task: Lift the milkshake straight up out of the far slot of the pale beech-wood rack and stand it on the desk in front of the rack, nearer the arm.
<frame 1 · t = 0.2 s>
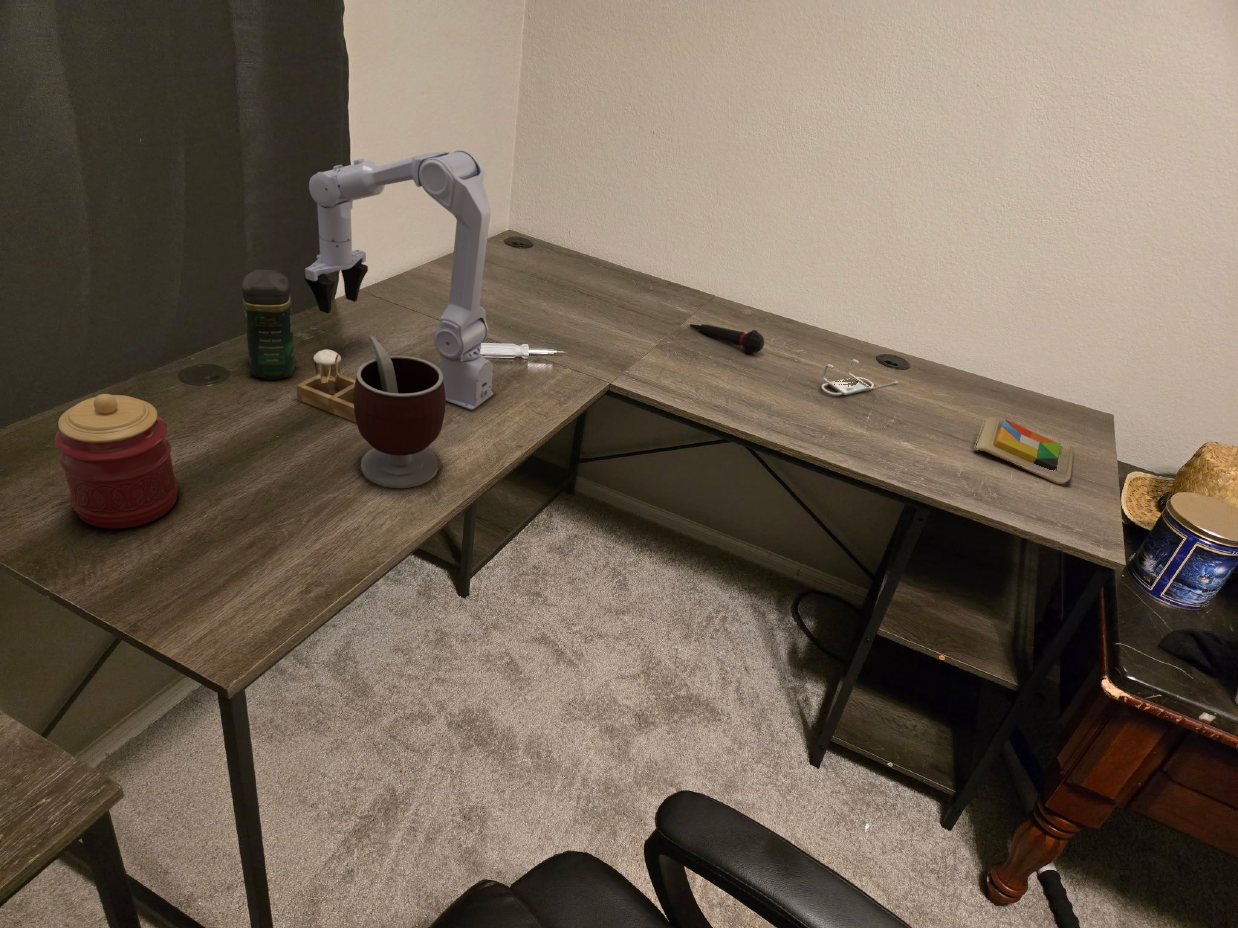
hand: (338, 305, 154), 10 cm above the table, tool pointing down, fingers open, 7 cm apart
rack: (346, 404, 144), on the table
milkshake: (330, 399, 145), on the table
mate gourd: (397, 464, 131), on the table
microphone: (726, 342, 195), on the table
wall mount rack: (854, 394, 181), on the table
kitchen canister: (128, 503, 114), on the table
coffee jar: (273, 370, 150), on the table
wooden puzzle: (1021, 454, 170), on the table
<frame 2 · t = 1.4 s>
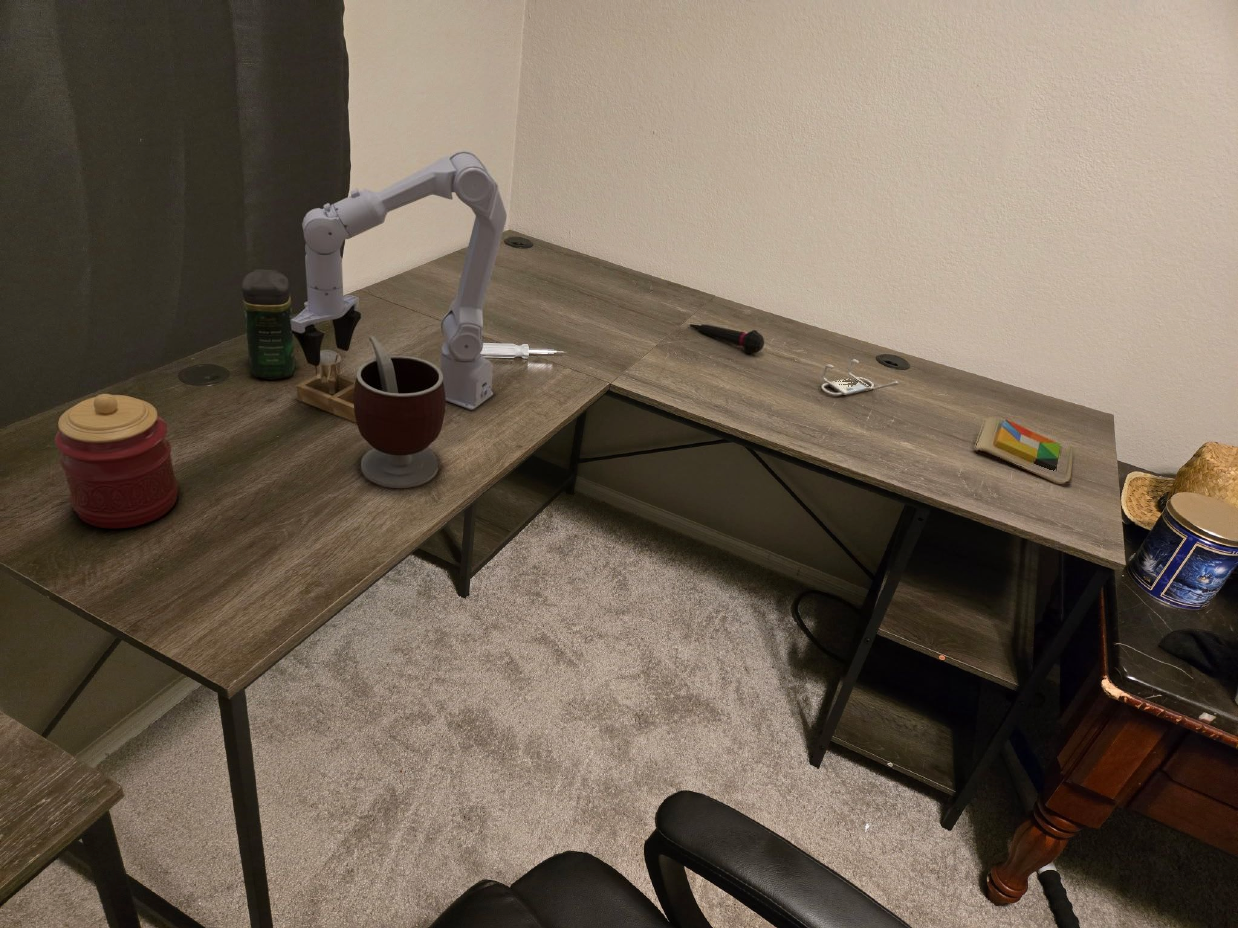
hand: (328, 356, 140), 8 cm above the table, tool pointing down, fingers open, 7 cm apart
nothing on the table moved.
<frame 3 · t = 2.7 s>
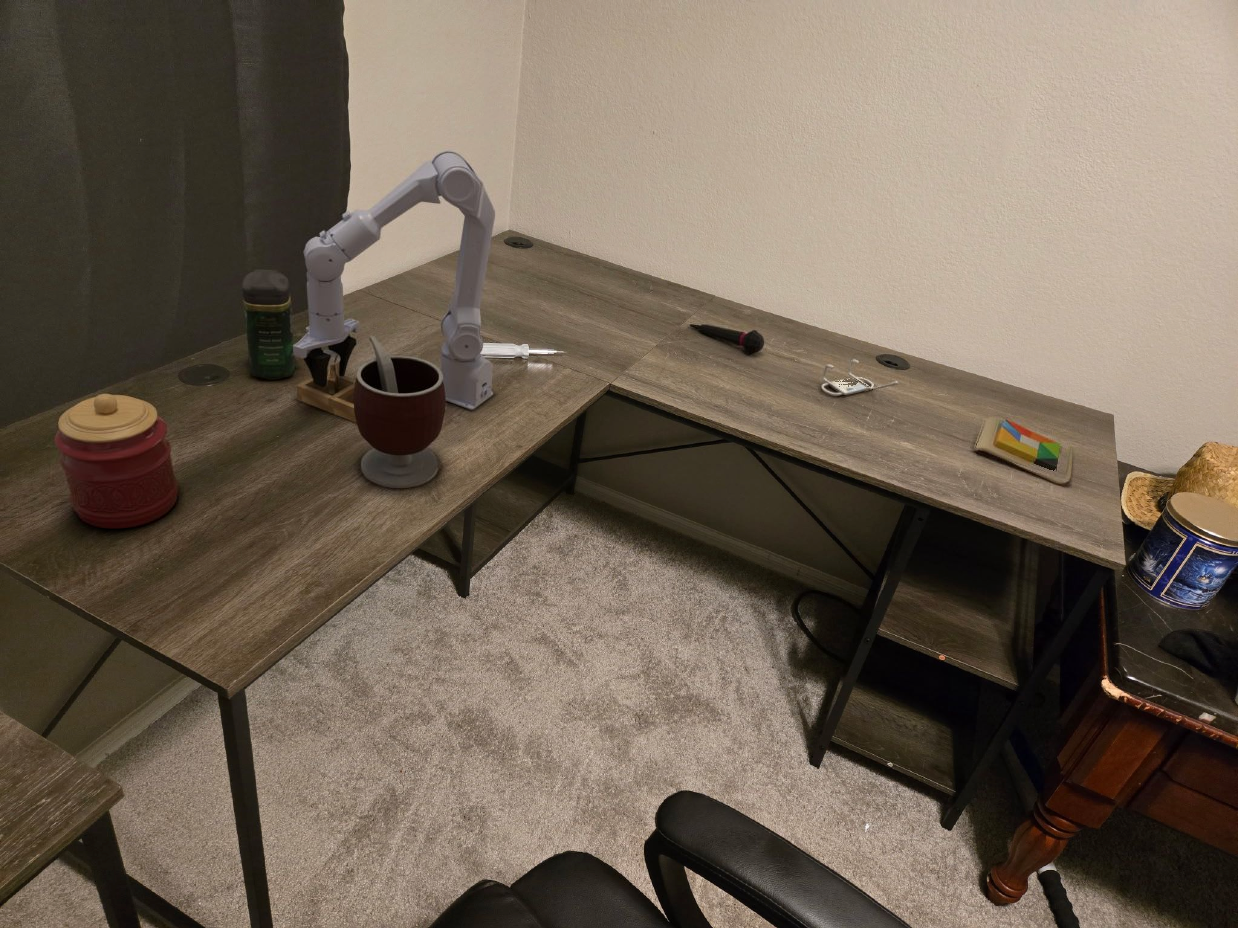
hand: (329, 379, 143), 4 cm above the table, tool pointing down, fingers closed on milkshake, 4 cm apart
milkshake: (330, 399, 145), on the table, touching gripper
everything else where it was.
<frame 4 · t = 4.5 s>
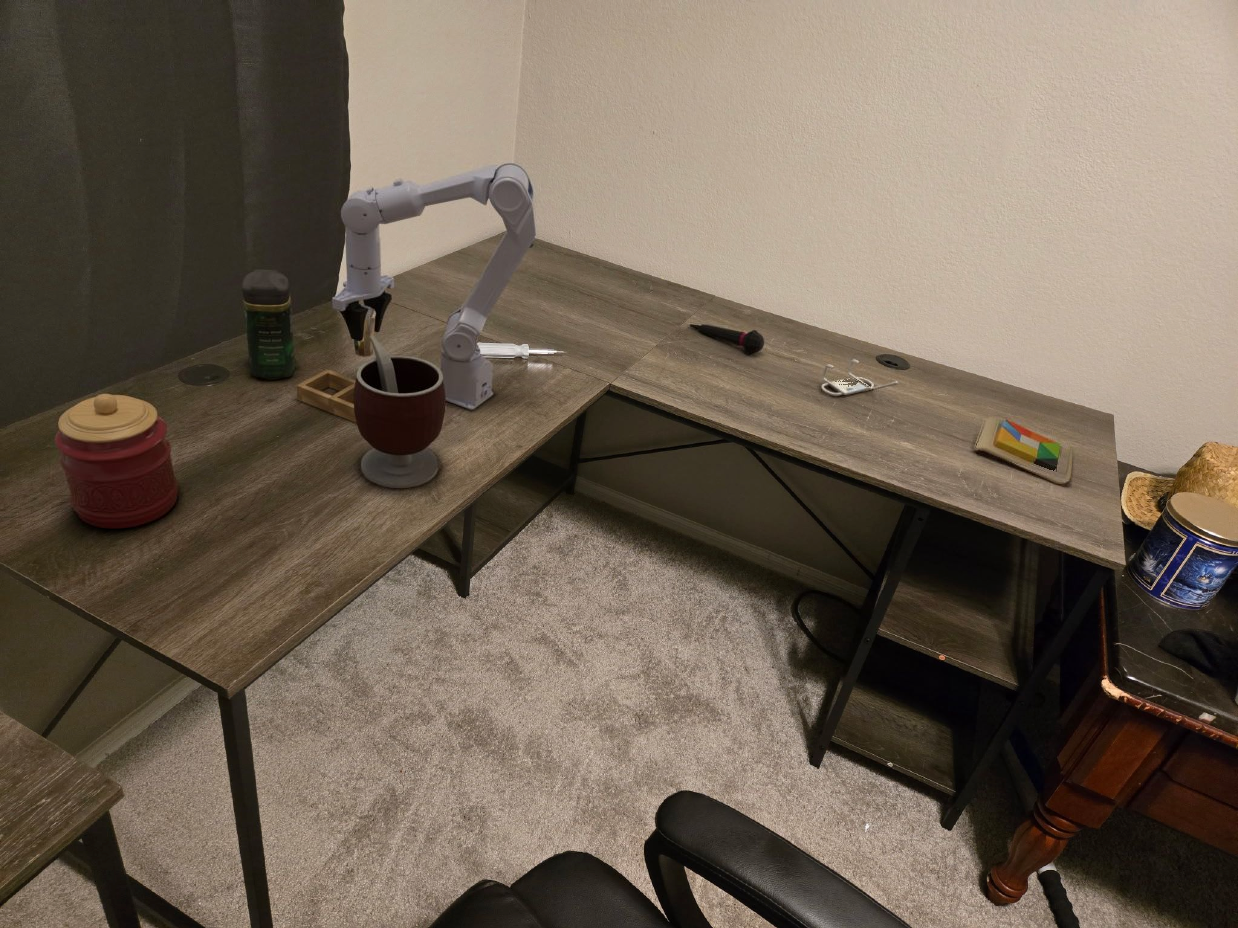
hand: (365, 334, 145), 10 cm above the table, tool pointing down, fingers closed on milkshake, 4 cm apart
milkshake: (365, 354, 148), point 6 cm above the table, touching gripper
everything else where it was.
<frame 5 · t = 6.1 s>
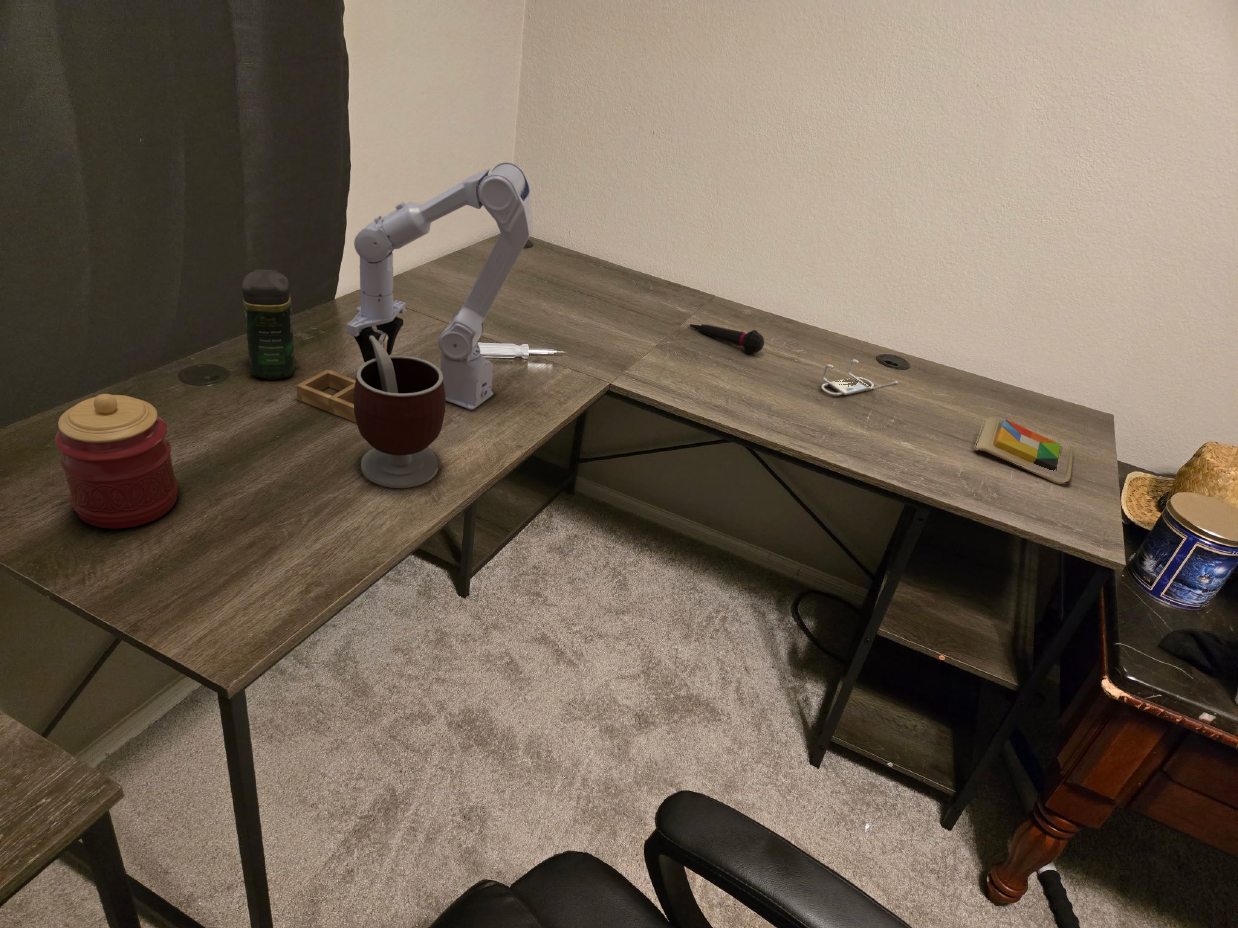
hand: (377, 357, 151), 5 cm above the table, tool pointing down, fingers closed on milkshake, 4 cm apart
milkshake: (377, 376, 153), point 1 cm above the table, touching gripper
everything else where it was.
when the fingers open (4 cm above the table, at t = 6.8 s): milkshake stays where it is, on the table.
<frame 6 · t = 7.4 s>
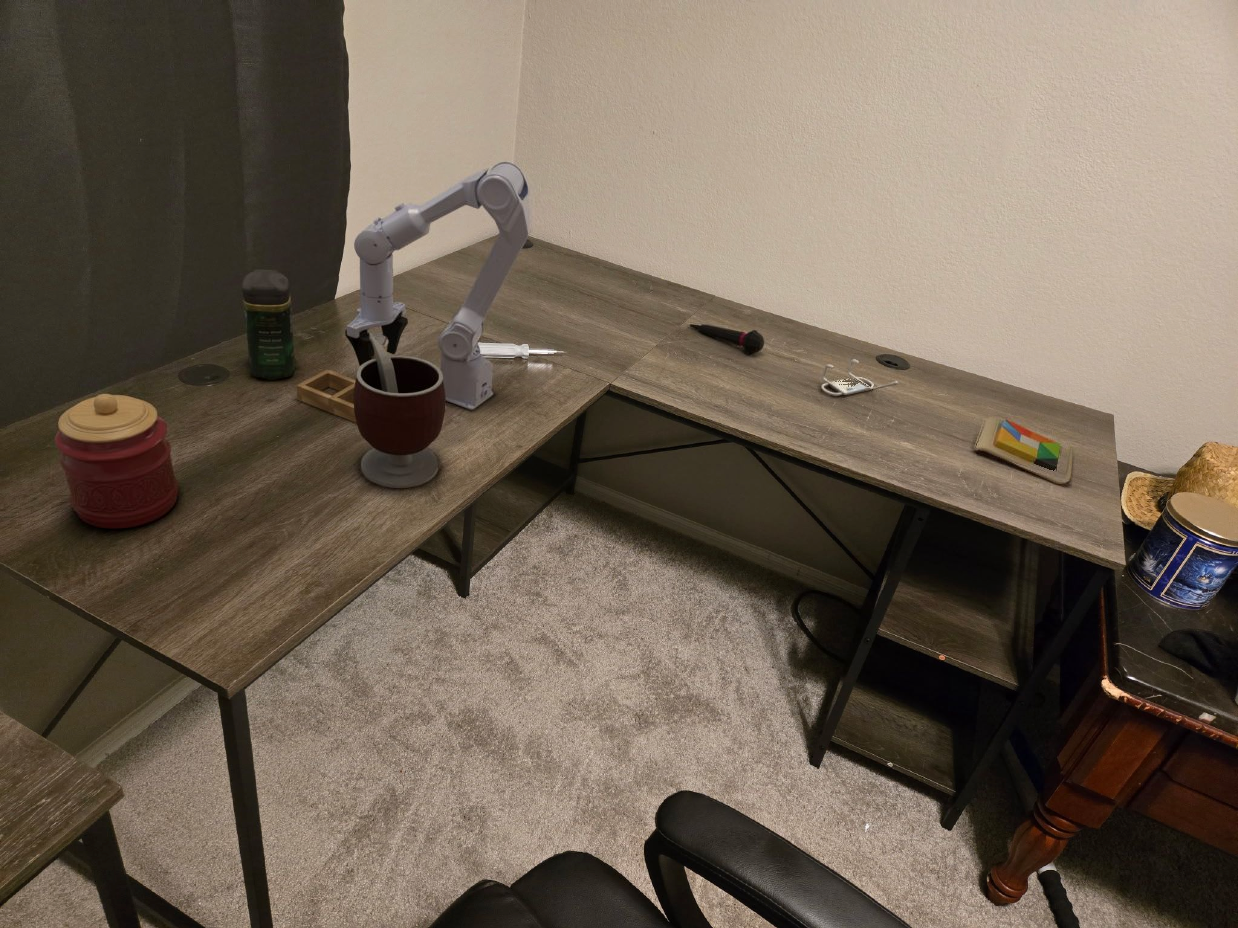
hand: (377, 359, 151), 4 cm above the table, tool pointing down, fingers open, 7 cm apart
milkshake: (377, 380, 153), on the table
everything else where it was.
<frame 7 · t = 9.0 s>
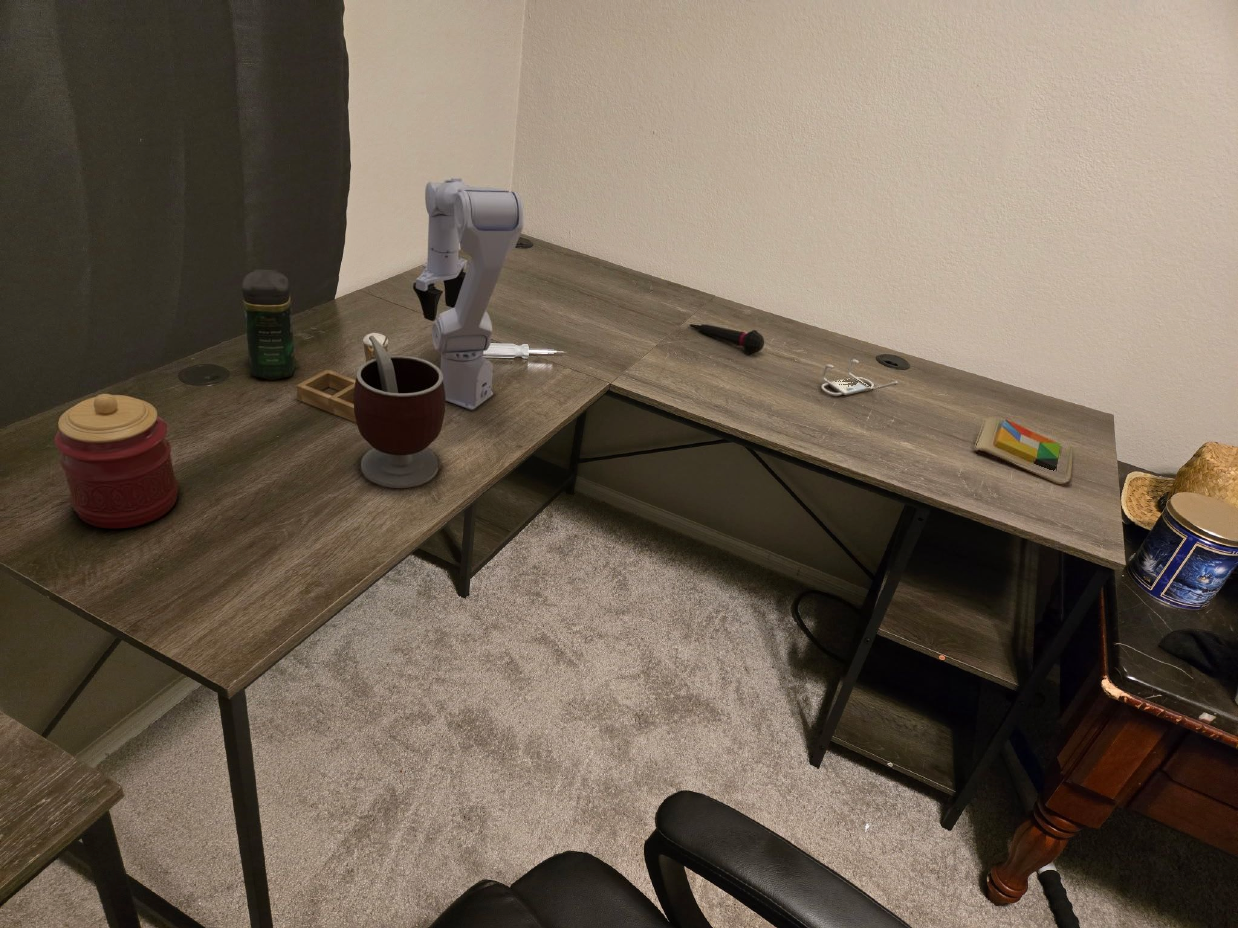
hand: (440, 312, 158), 10 cm above the table, tool pointing down, fingers open, 7 cm apart
nothing on the table moved.
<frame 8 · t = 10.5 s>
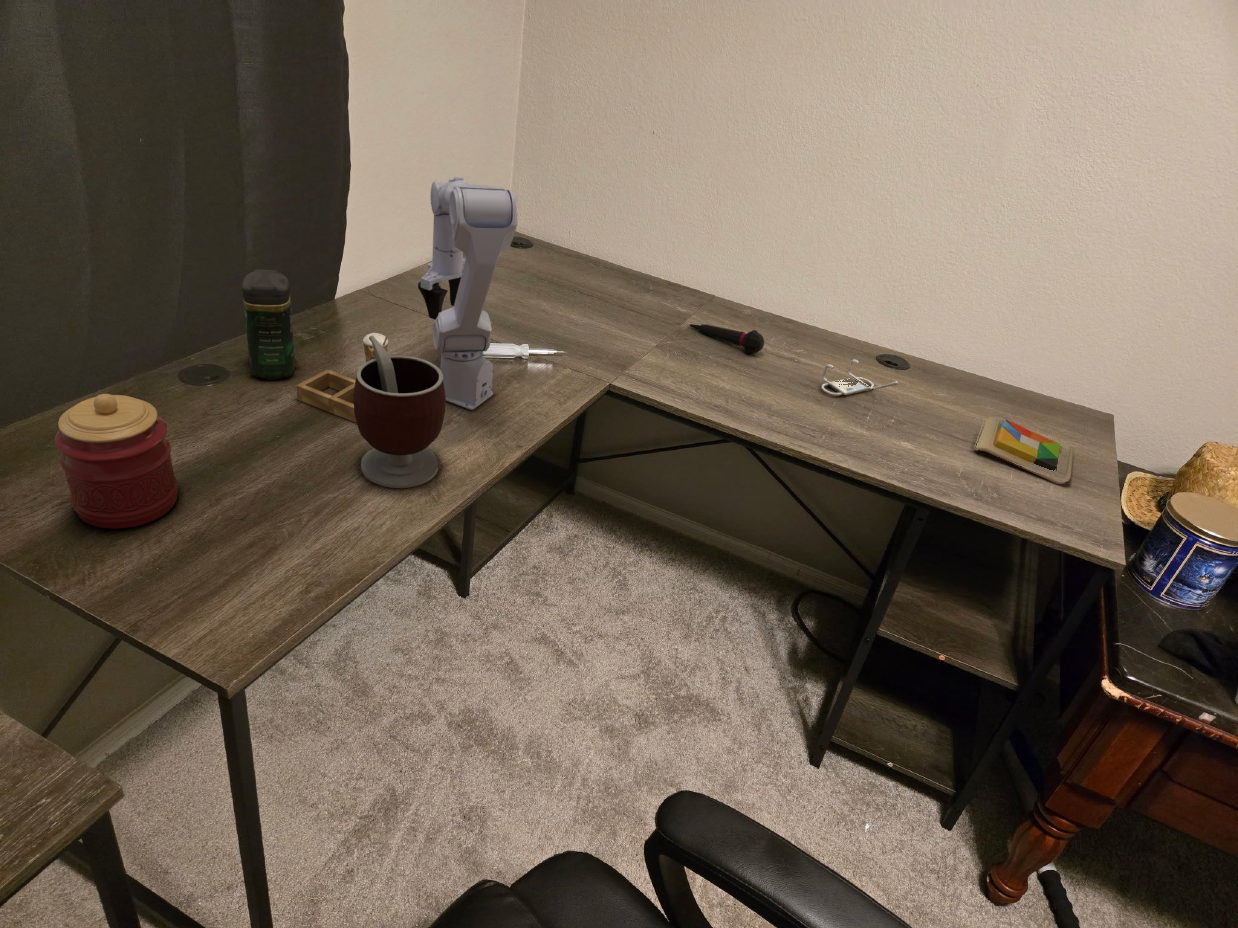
hand: (445, 312, 159), 10 cm above the table, tool pointing down, fingers open, 7 cm apart
nothing on the table moved.
at the end: milkshake inside the target area (0.1 cm from its centre), on the table; milkshake tilted 0°; milkshake touching table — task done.
